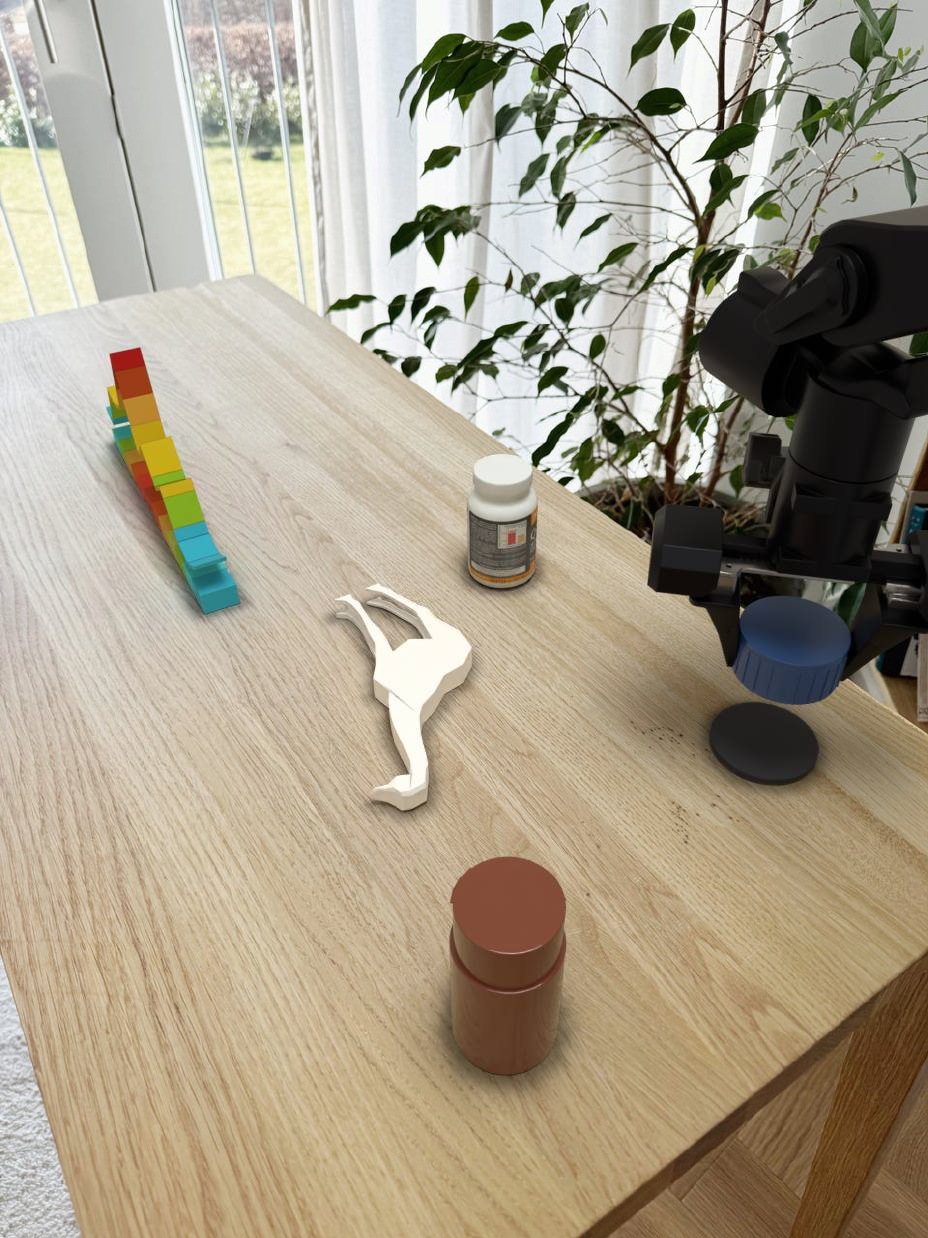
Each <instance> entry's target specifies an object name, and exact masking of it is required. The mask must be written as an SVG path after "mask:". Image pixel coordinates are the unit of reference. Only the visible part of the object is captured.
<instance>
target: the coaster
mask: <svg viewBox="0 0 928 1238" xmlns="http://www.w3.org/2000/svg"><path fill="white" fill-rule="evenodd" d="M708 738H709V744H710V748H711V751H712V753H713V754H714V756H715V757H716V759H717V760H718V761H719V763H720V764H721V765H722V766H724V767H725V768H726V770H728V771H729V772H731V773H732V774H735V776H738V777H740V778H742V779H744V780H747V781H749V782H753V783H756V784H761V785H766V786H767V785H768V786H782V785H783V786H784V785H789V784H793V783H796V782H798V781H800V780H803V779H804V778H805V777H807V776H808V775H810V773H811V772H812V771H813V769H814V768H815V766H816V764H817V762H818V758H819V754H820V746H819V740H818V738H817V736H816V734H815V732H814V731H813V729H812V728H811V726H809V724H807V722H805V720H803V719H802V718H801V717H800V716H798V715H797V714H795V713H794V712H792V711H791V710H788V709H786V708H784V707H781V706H779V705H776V704H773V703H768V702H762V701H761V702H760V701H744V702H739V703H734V704H732V705H729V706H727V707H725V708H724V709H722V710H721V711H720V712H719V713H718V714H716V716H715V717H714V718H713V720H712V722H711V726H710V729H709V735H708Z"/></svg>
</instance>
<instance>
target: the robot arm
mask: <svg viewBox="0 0 928 1238" xmlns="http://www.w3.org/2000/svg"><path fill="white" fill-rule="evenodd" d="M818 240H819V242H818V244H817V245H816V247H815V249H814V251H813V254H812V257H811V259H810V260H809V261H808V262H807V263H806V264H805V265H804V266H803V268H801V269H800V270H799V272H797V274H796V275H795V276H794V277H793V278H792V279H791V280H790V279H789V278H788V277H786V275H785V274H784V273H782V272H781V271H779V270H777V269H776V268H774V267H772V266H771V265H767V266H763V267H756V268H751V269H746V270H742V271H740V272H739V274H738V281H737V284H736V286H737V287H736V290H735V291H733V292H732V293H731V294H730V295H728V296H727V297H726V298H724V299H723V300H722V301H721V303H719V304H718V306H717V307H716V308H715V309H714V310H713V311H712V313H711V315H710V317H709V318H708V320H707V322H706V324H705V326H704V328H703V329H702V330H700V333H699V337H698V343H697V344H698V345H697V347H698V349H697V354H698V358H699V362H700V364H701V365H702V367H703V369H704V370H705V371H706V372H707V373H708V374H710V376H712V377H713V378H715V379H716V380H717V381H719V382H721V383H722V384H723V385H725V386H726V387H728V388H729V389H731V390H732V391H734V392H735V393H737V395H739V396H740V397H742V398H744V399H745V400H746V401H748V402H749V403H750V404H752V405H753V406H755V407H756V408H757V409H759V410H760V411H761V412H763V413H764V414H765V415H767V416H770V417H773V418H789V417H792V416H795V419H794V424H793V428H792V432H791V436H790V440H789V445H788V446H784V445H783V439H782V438H781V436H780V435H779V434H778V433H768V432H756V431H750V432H749V433H748V439H747V443H746V447H745V451H744V456H743V457H744V458H743V462H742V463H743V464H742V469H741V482H742V485H743V486H744V487H745V488H752V489H753V488H755V489H765V490H768V496H767V500H766V505H765V509H764V523H765V524H766V525H770V526H769V530H768V534H767V537H761V536H751V535H741V534H733V533H724V509H722V508H713V507H704V506H694V505H687V504H686V505H685V504H675V503H664V505H663V506H662V507H660V508H659V509H658V510H656V511H655V514H654V519H653V527H652V534H651V544H650V554H649V563H648V573H647V583H646V585H647V587H649V588H650V589H651V590H653V591H654V592H655V593H659V594H669V595H676V596H684V597H685V596H686V597H688V602H689V604H690V605H692V606H694V607H696V608H702V609H705V610H706V613H707V614H708V616H709V618H710V620H711V622H712V624H713V626H714V628H715V629H716V632H717V634H718V635H717V636H718V638H719V642H720V645H721V649H722V653H723V658H724V662H725V665H726V667H727V668H732V666H733V664H734V662H735V660H736V657H737V649H738V634H739V620H740V616H741V574H742V573H747V574H755V575H764V576H771V577H772V576H774V577H781V578H788V579H789V578H791V579H799V580H808V581H816V582H825V583H833V584H843V585H853V586H854V585H857V583H859V584H865V589H864V592H863V597H862V599H861V602H860V604H859V607H858V608H857V611H856V614H855V615H854V618H853V620H852V622H851V625H850V627H849V631H850V634H851V645H850V650H849V652H848V655H847V657H848V658H847V661H846V664H845V667H844V670H843V673H842V676H841V679H840V682H845V681H846V680H847V679H849V678H850V677H851V676H853V675H855V673H857V672H858V671H860V670H861V669H862V668H864V667H865V666H866V665H867V664H869V663H870V662H872V661H873V660H874V659H876V658H877V657H878V656H880V655H882V654H883V653H884V652H886V651H888V650H889V649H892V648H894V647H895V646H897V645H898V644H900V643H902V642H903V641H905V640H907V639H909V638H910V637H912V636H914V635H918V634H919V635H928V530H924V529H913V530H912V531H910V532H909V533H908V534H907V536H906V540H905V542H904V544H903V543H890V544H888V545H887V546H886V547H884V548H882V547H881V548H880V547H875V545H876V542H877V540H878V537H879V533H880V530H881V527H882V525H883V522H888V521H889V517H890V514H891V511H892V509H893V506H894V504H893V501H892V493H893V491H894V487H895V484H896V481H897V479H898V478H897V477H898V474H899V472H900V469H901V465H902V462H903V459H904V455H905V453H906V448H907V446H908V443H909V440H910V437H911V433H912V430H913V429H914V428H913V427H914V424H915V421H916V419H917V418H922V417H925V416H928V354H925V355H921V356H916V357H915V356H913V355H911V354H909V353H907V352H905V351H904V350H902V349H900V348H898V347H897V346H895V345H893V344H891V343H889V342H888V341H891V340H896V339H901V338H905V337H909V336H914V335H919V334H924V333H926V332H928V204H926V205H920V206H913V207H909V208H903V209H897V210H891V211H886V212H885V211H884V212H880V213H874V214H868V215H862V216H857V217H851V218H850V217H849V218H845V219H840V220H838V221H835V222H833V223H831V224H829V225H827V226H826V228H824V229H823V230H822V231H821V232H820V234H819V238H818ZM886 341H887V342H886Z"/></svg>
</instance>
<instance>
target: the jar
mask: <svg viewBox="0 0 928 1238" xmlns="http://www.w3.org/2000/svg"><path fill="white" fill-rule="evenodd" d="M566 901H567V898H566V896H565V894H564V891H563V888H562V886H561V885H560V883H559V881H558V880H557V879H556V877H555V876H554V875H553V874H552V873H551V872H550V871H549V870H548V869H546V868H545V866H542V865H540V864H539V863H538V862H535V861H532V860H530V859H528V858H523V857H519V856H512V855H511V856H506V855H505V856H504V855H503V856H497V857H492V858H488V859H486V860H482V861H481V862H479V863H477V864H475V865H473V866H472V867H469V868H468V869H467V870H466V871H465V872H464V873H463V874H462V875H461V876H459V878H458V880H457V881H456V883H455V885H454V887H453V888H452V892H451V896H450V899H449V904H451V905H452V923H451V927H450V931H449V937H448V947H449V949H448V950H449V951H448V952H449V978H450V979H449V980H450V1009H451V1010H450V1011H451V1014H450V1015H451V1031H452V1036H453V1039H454V1041H455V1044H456V1046H457V1048H458V1049H459V1051H460V1052H461V1053H462V1055H463V1056H464V1057H465V1058H466V1059H467V1060H468V1061H469V1063H471V1064H473V1065H474V1066H476V1067H477V1068H478V1069H481V1070H483V1071H485V1072H488V1073H491V1074H495V1075H502V1076H503V1075H505V1076H507V1075H509V1076H510V1075H517V1074H522V1073H524V1072H526V1071H529V1070H531V1069H534V1067H536V1066H538V1065H539V1064H540V1063H541V1062H542V1061H543V1060H544V1059H545V1058H547V1056H548V1055H549V1053H551V1050H552V1049H553V1047H554V1045H555V1044H554V1043H555V1041H556V1039H557V1034H558V1027H559V1020H560V1019H559V1017H560V1010H561V1009H560V1008H561V1001H562V990H563V982H564V973H565V965H566V954H567V935H566V931H565V925H566V916H567V915H566V914H567V902H566Z"/></svg>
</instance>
